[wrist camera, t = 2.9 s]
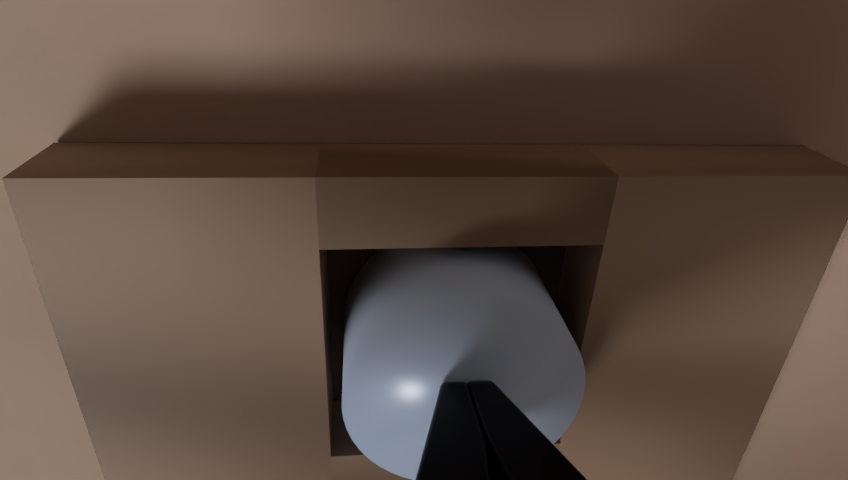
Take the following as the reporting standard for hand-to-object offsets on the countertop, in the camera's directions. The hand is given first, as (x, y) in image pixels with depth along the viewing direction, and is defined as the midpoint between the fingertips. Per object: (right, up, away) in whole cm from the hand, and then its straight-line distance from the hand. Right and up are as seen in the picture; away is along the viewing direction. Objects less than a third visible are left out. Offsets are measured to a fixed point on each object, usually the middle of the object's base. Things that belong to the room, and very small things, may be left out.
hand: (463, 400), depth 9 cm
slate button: (0, +1, +2) cm, 2 cm away
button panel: (-1, -7, +6) cm, 9 cm away
